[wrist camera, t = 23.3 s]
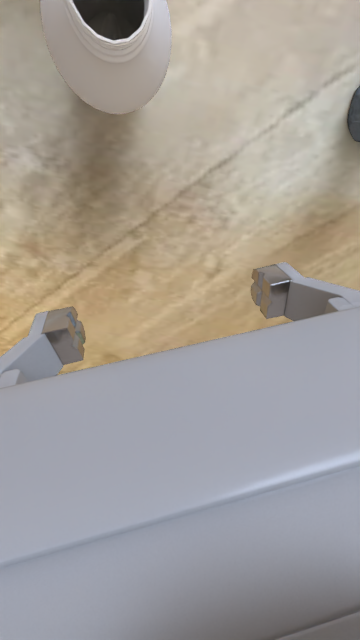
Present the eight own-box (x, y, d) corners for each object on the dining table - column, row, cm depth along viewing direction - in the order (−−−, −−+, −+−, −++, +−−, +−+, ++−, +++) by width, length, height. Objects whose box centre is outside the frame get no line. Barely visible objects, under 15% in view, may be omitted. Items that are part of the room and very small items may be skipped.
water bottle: (58, 65, 27) (-67, -44, 8) (104, -5, 25) (82, -386, 6) (115, 128, 31) (122, 158, 12) (157, 73, 29) (250, 1, 10)
